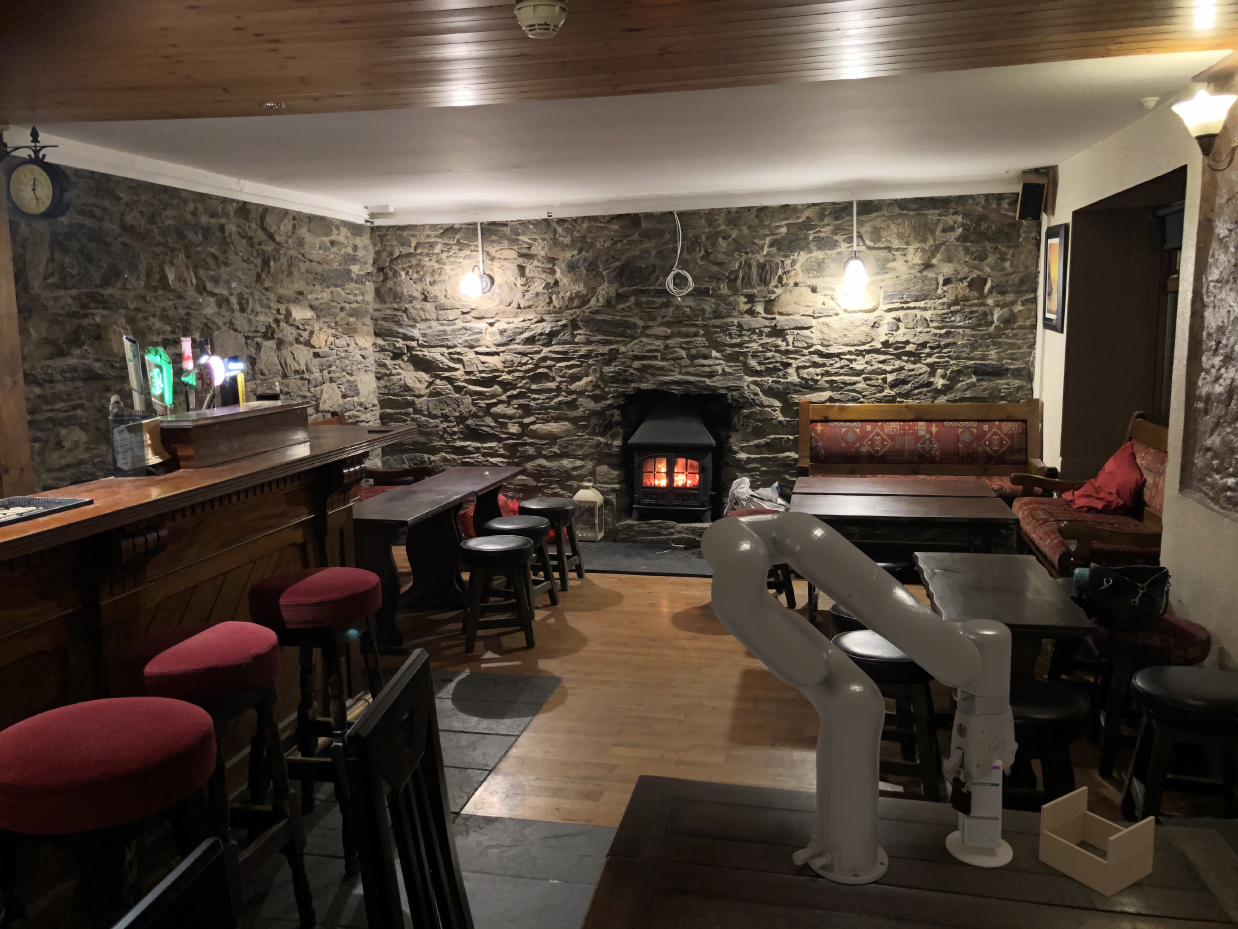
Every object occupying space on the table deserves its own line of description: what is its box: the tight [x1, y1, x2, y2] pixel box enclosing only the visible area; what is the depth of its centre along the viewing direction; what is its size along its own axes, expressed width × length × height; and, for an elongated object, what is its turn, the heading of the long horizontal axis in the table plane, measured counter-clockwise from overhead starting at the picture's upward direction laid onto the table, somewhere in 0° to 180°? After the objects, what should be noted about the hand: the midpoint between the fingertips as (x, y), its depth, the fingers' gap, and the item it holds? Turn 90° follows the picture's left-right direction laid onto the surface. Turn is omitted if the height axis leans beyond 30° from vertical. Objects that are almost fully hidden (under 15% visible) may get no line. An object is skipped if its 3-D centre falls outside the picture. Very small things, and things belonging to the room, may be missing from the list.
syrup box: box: [957, 760, 1003, 849], centre depth 141 cm, size 6×6×14 cm
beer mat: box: [945, 830, 1014, 869], centre depth 142 cm, size 10×10×1 cm
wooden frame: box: [1038, 786, 1156, 898], centre depth 136 cm, size 11×11×9 cm
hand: (979, 803), depth 141 cm, fingers closed on syrup box, 8 cm apart
